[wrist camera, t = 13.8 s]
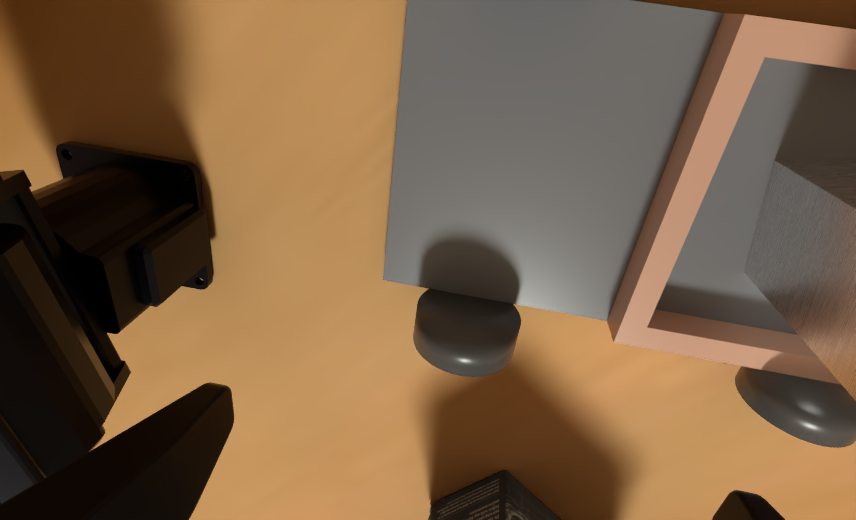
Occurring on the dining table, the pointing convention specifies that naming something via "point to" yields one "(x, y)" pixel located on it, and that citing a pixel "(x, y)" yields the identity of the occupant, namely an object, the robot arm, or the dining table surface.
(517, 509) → the box
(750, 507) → the robot arm
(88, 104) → the dining table surface
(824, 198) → the block
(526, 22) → the chassis
